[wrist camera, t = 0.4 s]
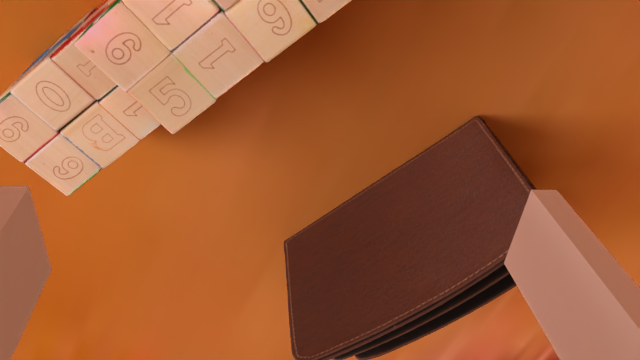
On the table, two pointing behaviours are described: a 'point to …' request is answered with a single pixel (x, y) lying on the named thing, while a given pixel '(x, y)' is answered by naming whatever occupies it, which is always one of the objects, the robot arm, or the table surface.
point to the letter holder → (407, 250)
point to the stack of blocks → (139, 76)
